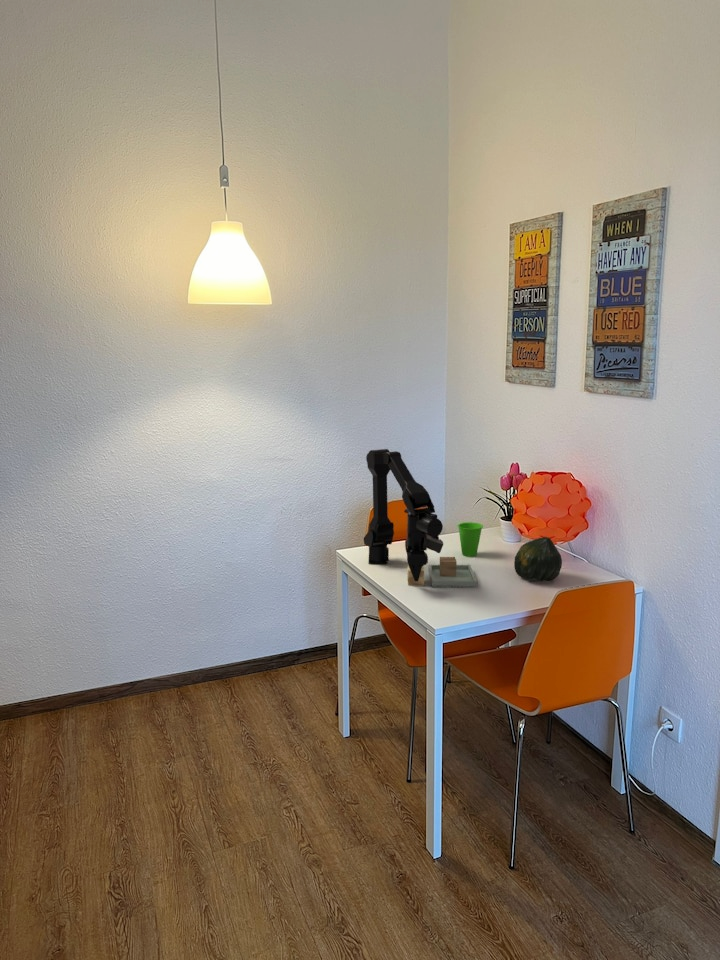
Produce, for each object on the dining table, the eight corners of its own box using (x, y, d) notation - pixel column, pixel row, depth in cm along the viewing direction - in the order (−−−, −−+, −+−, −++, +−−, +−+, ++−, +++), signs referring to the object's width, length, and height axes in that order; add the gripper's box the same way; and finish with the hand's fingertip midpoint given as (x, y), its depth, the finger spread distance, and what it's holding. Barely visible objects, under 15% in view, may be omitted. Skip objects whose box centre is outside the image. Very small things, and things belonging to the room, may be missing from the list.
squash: (501, 556, 232) (522, 531, 221) (537, 552, 238) (559, 528, 227) (518, 593, 224) (541, 570, 213) (555, 588, 230) (579, 565, 219)
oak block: (408, 585, 221) (408, 570, 220) (407, 580, 225) (407, 565, 224) (423, 585, 220) (424, 570, 219) (422, 580, 225) (423, 565, 224)
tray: (432, 587, 219) (432, 581, 218) (428, 570, 235) (428, 564, 234) (476, 587, 219) (477, 581, 218) (470, 570, 234) (470, 564, 234)
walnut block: (439, 571, 232) (439, 556, 231) (454, 571, 232) (454, 556, 231) (440, 576, 227) (441, 561, 226) (456, 576, 227) (456, 561, 226)
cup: (480, 551, 255) (482, 522, 253) (482, 559, 246) (483, 529, 244) (456, 550, 256) (457, 521, 253) (457, 558, 247) (458, 528, 245)
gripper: (444, 537, 210) (443, 586, 213) (439, 521, 228) (438, 566, 231) (407, 537, 210) (407, 586, 213) (405, 521, 228) (404, 566, 232)
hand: (415, 576), depth 222 cm, fingers open, 9 cm apart
